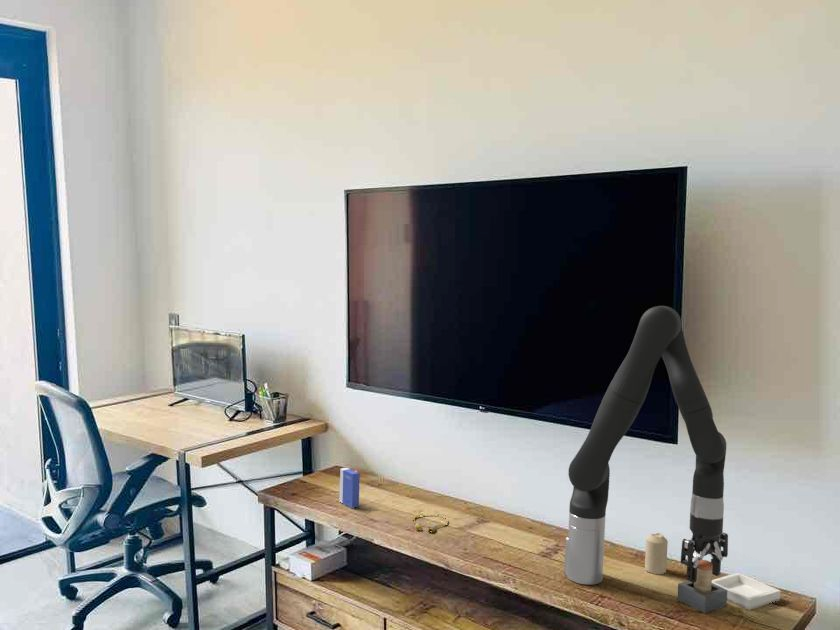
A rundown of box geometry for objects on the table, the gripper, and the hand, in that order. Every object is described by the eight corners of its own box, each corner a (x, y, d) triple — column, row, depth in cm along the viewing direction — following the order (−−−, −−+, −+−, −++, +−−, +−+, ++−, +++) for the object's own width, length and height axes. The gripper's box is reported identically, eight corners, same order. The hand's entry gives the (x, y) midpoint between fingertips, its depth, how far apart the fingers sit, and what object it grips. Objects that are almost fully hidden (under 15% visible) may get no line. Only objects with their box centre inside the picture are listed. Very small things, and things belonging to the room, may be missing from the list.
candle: (654, 565, 201) (655, 529, 200) (670, 572, 196) (672, 535, 196) (640, 568, 198) (642, 532, 197) (656, 576, 193) (658, 539, 193)
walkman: (358, 507, 242) (359, 471, 241) (352, 508, 240) (352, 473, 240) (345, 501, 248) (346, 466, 247) (339, 502, 246) (339, 467, 246)
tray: (707, 590, 185) (707, 581, 185) (737, 581, 191) (737, 572, 191) (749, 610, 175) (749, 600, 175) (779, 600, 181) (780, 590, 181)
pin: (689, 601, 179) (691, 561, 178) (700, 597, 181) (702, 558, 180) (703, 607, 175) (705, 567, 175) (714, 604, 177) (716, 564, 177)
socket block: (677, 599, 179) (678, 583, 179) (699, 593, 184) (699, 577, 183) (704, 612, 173) (705, 596, 172) (726, 606, 177) (727, 590, 176)
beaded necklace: (397, 527, 225) (398, 520, 225) (427, 514, 238) (427, 508, 238) (429, 536, 218) (430, 530, 218) (458, 523, 231) (458, 516, 231)
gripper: (712, 504, 184) (709, 567, 184) (674, 512, 176) (671, 577, 177) (739, 513, 177) (735, 578, 178) (699, 521, 170) (696, 589, 171)
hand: (703, 578), depth 178 cm, fingers open, 8 cm apart
